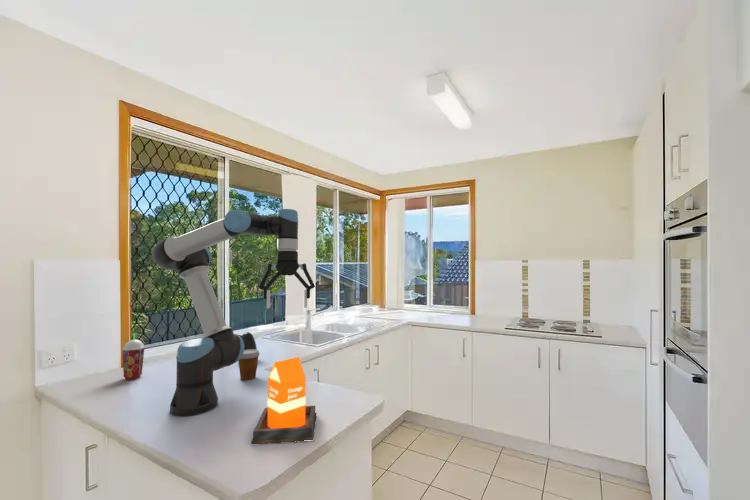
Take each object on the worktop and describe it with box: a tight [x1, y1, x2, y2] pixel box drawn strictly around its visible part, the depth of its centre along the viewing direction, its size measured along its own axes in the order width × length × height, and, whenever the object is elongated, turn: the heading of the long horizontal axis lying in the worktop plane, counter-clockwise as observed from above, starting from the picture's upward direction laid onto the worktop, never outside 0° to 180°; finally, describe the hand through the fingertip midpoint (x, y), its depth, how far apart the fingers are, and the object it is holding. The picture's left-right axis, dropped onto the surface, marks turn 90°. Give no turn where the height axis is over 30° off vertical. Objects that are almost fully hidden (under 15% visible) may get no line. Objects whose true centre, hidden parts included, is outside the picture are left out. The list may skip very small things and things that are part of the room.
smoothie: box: [121, 333, 146, 381], centre depth 157 cm, size 8×8×20 cm
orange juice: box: [267, 357, 307, 429], centre depth 108 cm, size 8×9×20 cm
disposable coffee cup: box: [238, 349, 260, 382], centre depth 156 cm, size 10×10×12 cm
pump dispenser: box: [237, 331, 258, 350], centre depth 185 cm, size 10×10×15 cm
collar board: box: [250, 405, 317, 445], centre depth 107 cm, size 17×17×4 cm
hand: (287, 307), depth 129 cm, fingers open, 13 cm apart
